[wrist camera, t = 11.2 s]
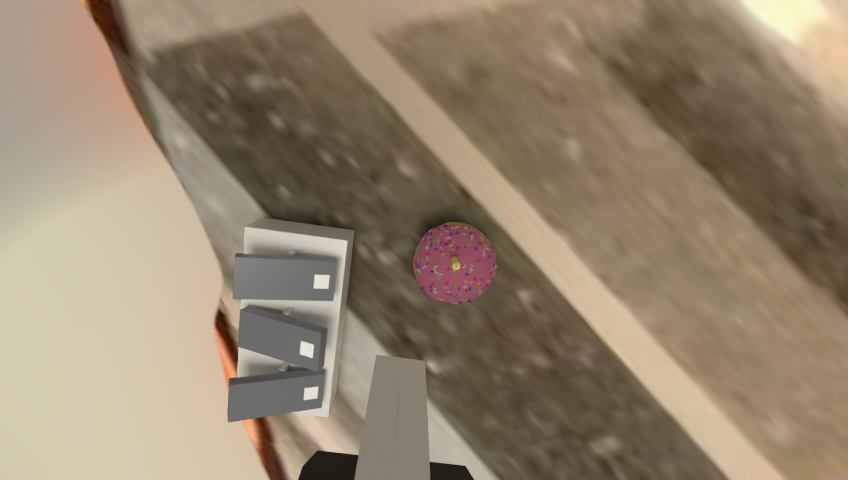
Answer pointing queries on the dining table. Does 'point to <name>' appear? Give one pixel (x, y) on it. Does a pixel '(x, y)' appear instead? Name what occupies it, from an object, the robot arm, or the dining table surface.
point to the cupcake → (454, 263)
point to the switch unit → (328, 314)
